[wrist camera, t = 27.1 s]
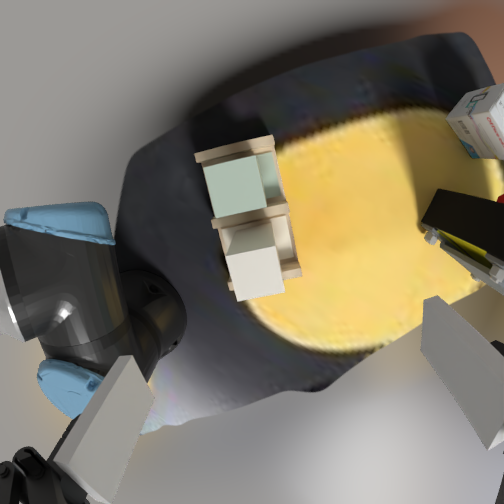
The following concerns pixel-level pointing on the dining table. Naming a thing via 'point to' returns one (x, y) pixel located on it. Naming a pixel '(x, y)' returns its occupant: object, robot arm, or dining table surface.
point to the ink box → (480, 122)
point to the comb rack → (272, 213)
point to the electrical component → (469, 233)
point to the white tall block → (255, 263)
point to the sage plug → (235, 186)
